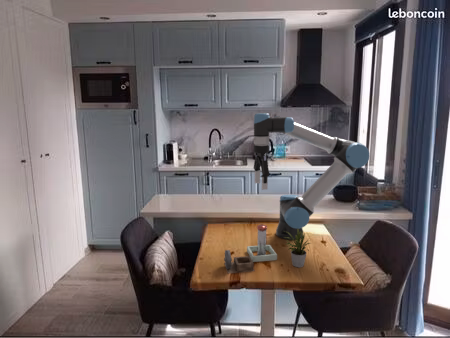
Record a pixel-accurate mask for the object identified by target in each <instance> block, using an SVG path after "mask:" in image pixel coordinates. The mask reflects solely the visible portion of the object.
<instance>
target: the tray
mask: <svg viewBox="0 0 450 338" xmlns="http://www.w3.org/2000/svg"><path fill="white" fill-rule="evenodd" d="M257 247H258V245H249V246H246V252H247V254H248V256H250V258H251V260H252V261H253V263H258V262H266V261H267V262H268V261H269V262H270V261H277V260H278V254H277V253H276V251H275V250H274V248H273V247H272V245H271V244H266V252H267V251H268V252H269V253H270V254H266V255H259V256H257V255H254V253H253V252H257Z"/></svg>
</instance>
